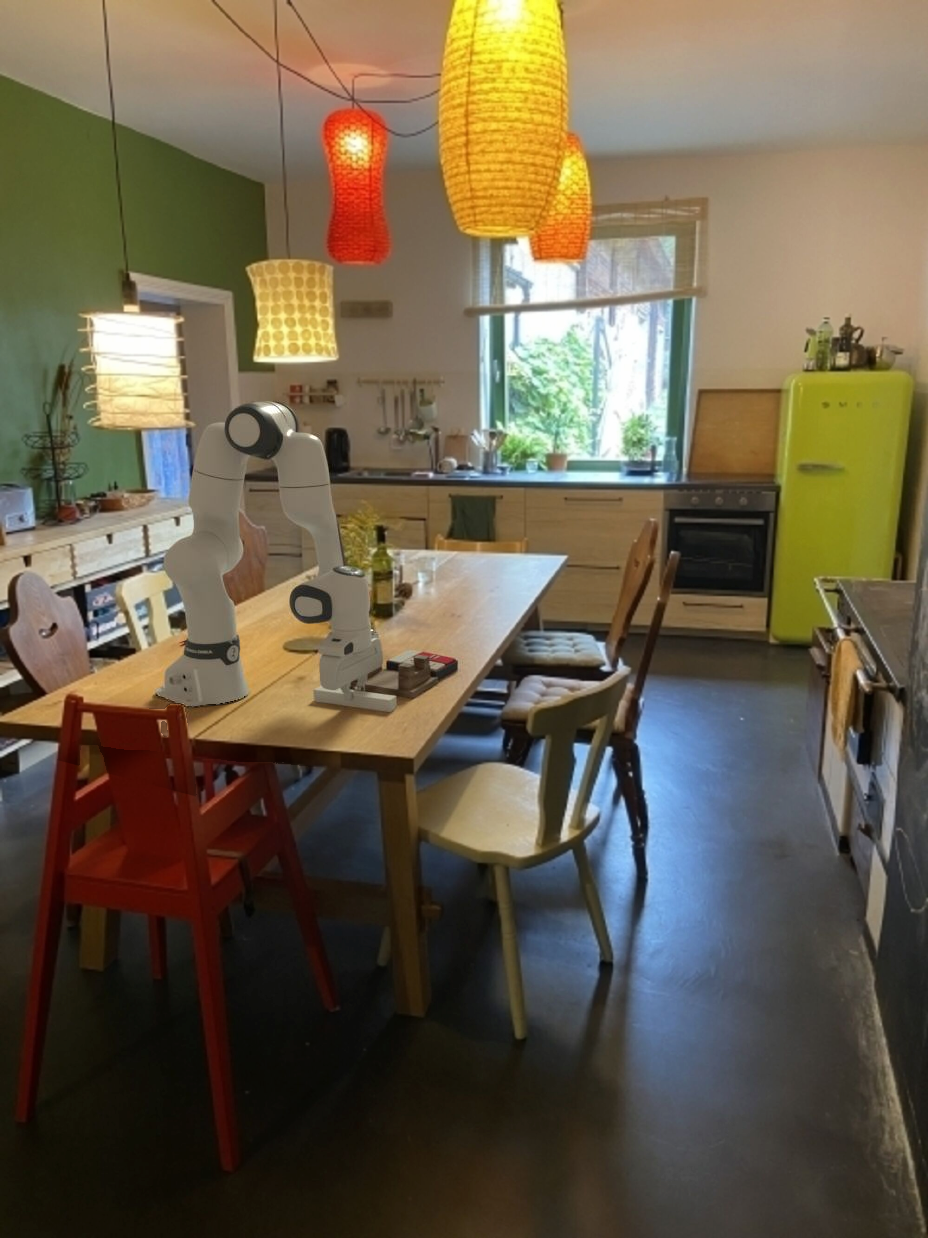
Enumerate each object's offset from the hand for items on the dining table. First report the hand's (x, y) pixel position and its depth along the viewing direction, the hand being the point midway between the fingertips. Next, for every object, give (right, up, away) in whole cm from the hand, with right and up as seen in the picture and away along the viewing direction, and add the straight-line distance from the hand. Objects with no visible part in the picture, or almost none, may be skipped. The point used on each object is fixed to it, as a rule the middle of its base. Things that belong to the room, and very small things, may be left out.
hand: (354, 696), depth 201 cm
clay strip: (0, -2, +1) cm, 2 cm away
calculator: (+14, +4, +23) cm, 27 cm away
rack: (+7, +2, +13) cm, 15 cm away
